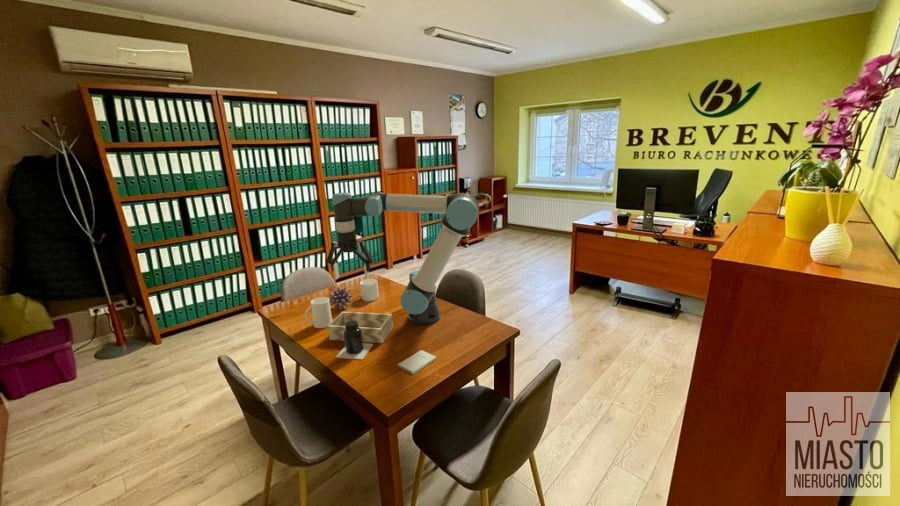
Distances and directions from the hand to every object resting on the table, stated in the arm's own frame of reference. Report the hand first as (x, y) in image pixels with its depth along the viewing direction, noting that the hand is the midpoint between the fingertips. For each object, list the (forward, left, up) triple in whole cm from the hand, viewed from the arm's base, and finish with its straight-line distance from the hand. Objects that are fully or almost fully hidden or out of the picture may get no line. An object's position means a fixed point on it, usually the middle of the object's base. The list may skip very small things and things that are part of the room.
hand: (352, 278), depth 155 cm
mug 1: (+20, -2, -25) cm, 32 cm away
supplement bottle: (-6, +17, -24) cm, 30 cm away
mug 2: (+9, -35, -25) cm, 44 cm away
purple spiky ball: (+18, -20, -25) cm, 36 cm away
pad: (-6, +17, -25) cm, 31 cm away
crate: (-3, +3, -25) cm, 25 cm away
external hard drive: (-33, +22, -25) cm, 47 cm away
